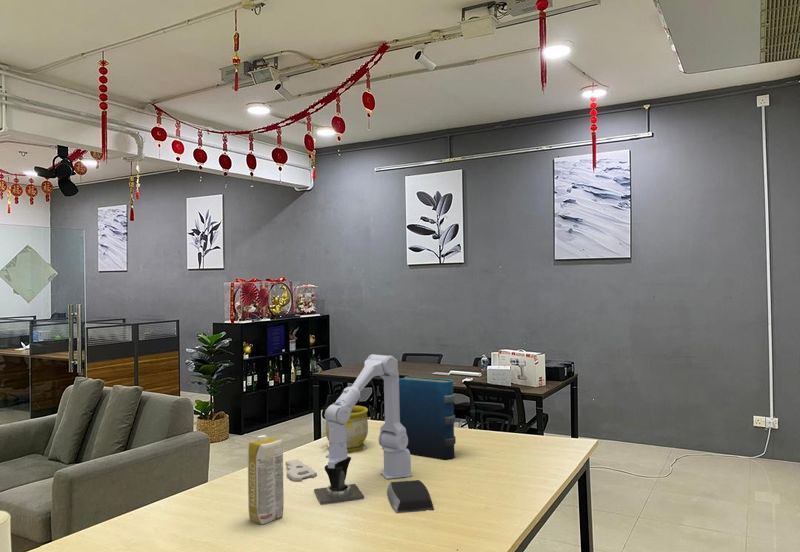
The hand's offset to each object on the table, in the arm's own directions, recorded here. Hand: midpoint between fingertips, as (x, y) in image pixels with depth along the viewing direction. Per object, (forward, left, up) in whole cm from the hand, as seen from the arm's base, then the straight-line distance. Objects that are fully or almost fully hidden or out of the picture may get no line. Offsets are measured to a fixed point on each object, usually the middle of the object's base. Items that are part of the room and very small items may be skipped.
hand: (338, 483), depth 187 cm
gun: (+9, -27, -4) cm, 29 cm away
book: (-44, -33, -4) cm, 55 cm away
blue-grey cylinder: (0, 0, -3) cm, 3 cm away
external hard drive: (-20, +12, -4) cm, 24 cm away
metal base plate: (0, 0, -4) cm, 4 cm away
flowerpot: (-15, -53, -4) cm, 55 cm away
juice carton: (+24, +11, -4) cm, 27 cm away
